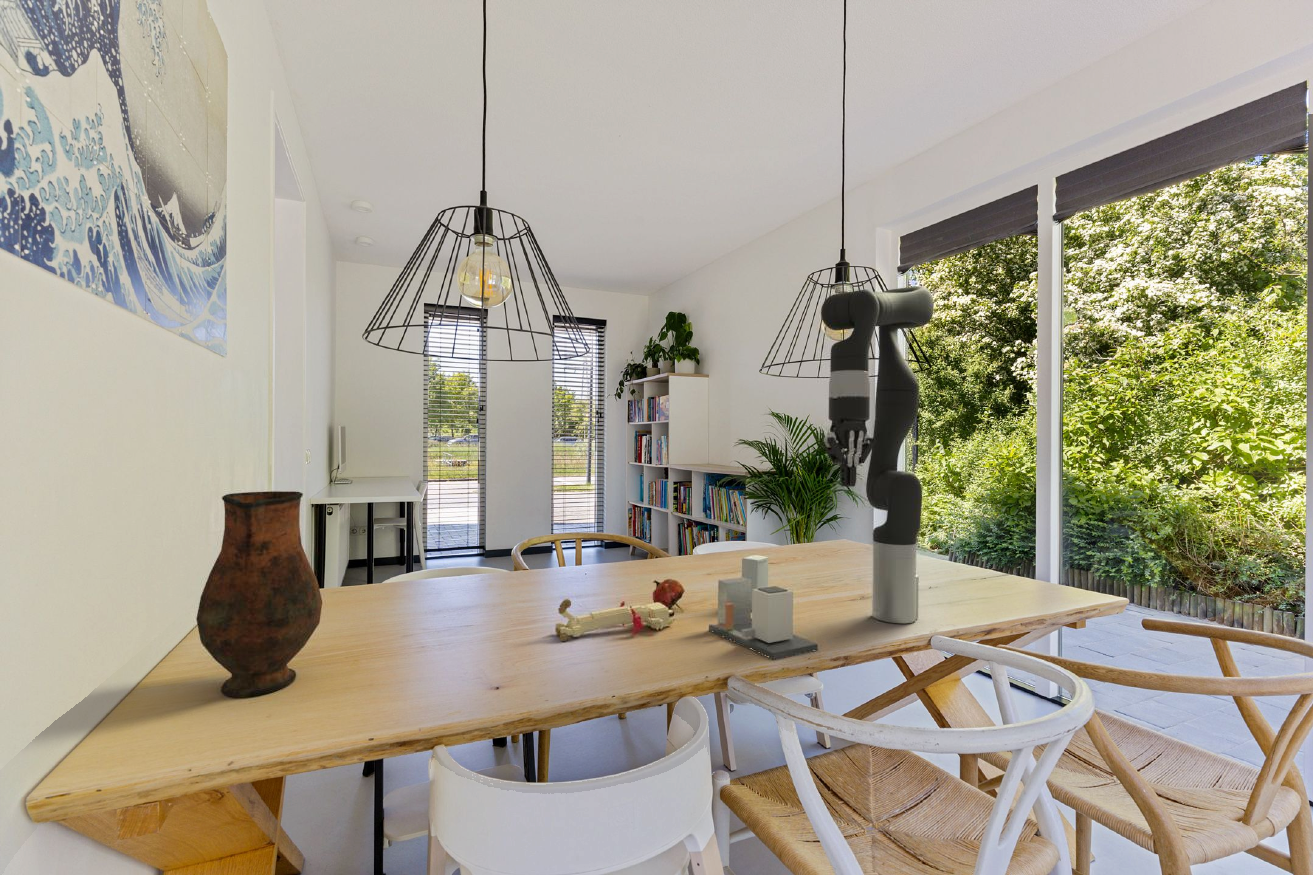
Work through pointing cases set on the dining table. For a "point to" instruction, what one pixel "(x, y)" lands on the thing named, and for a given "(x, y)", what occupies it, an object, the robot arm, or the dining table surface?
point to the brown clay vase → (259, 594)
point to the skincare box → (756, 571)
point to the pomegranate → (668, 592)
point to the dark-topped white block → (771, 614)
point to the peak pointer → (729, 616)
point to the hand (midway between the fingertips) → (848, 486)
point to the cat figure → (613, 618)
